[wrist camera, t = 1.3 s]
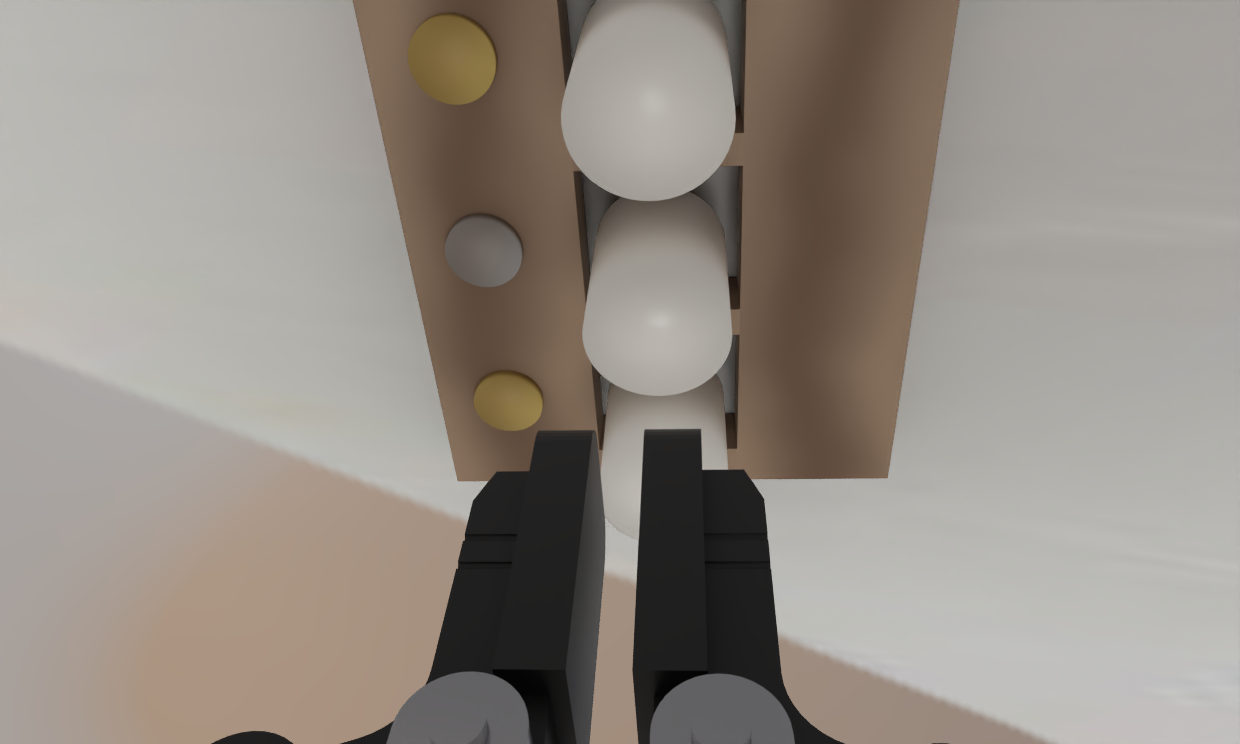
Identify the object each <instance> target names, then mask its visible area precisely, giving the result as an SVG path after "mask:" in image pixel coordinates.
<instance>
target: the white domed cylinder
mask: <svg viewBox="0 0 1240 744" xmlns="http://www.w3.org/2000/svg"><path fill="white" fill-rule="evenodd" d="M735 122H736V114H735V102H734V94H733V86H732V78H731V69H730V61H729V53H728V45H727V37H726V32H725V27H724V24H723V21H722V18H721V16H720V14H719V12H718V10H717V8H716V7H715V5H714V4H713V2H712V1H711V0H596V1H595V3H594V4H593V5H592V7H591V8H590V10H589V12H588V14H587V16H586V18H585V21H584V23H583V26H582V30H581V34H580V38H579V41H578V45H577V49H576V53H575V56H574V60H573V64H572V67H571V71H570V75H569V79H568V82H567V86H566V90H565V94H564V98H563V102H562V109H561V126H562V132H563V137H564V140H565V143H566V146H567V149H568V151H569V153H570V155H571V157H572V159H573V160H574V162H575V163H576V165H577V166H578V167H579V169H580V170H581V171H582V172H583V173H584V174H585V175H586V176H587V177H588V178H589V179H590V180H591V181H592V182H594V183H595V184H596V185H598V186H599V187H601V188H603V189H604V190H606V191H608V192H610V193H612V194H615V195H617V196H620V197H623V198H627V199H632V200H638V201H659V200H665V199H670V198H674V197H677V196H680V195H683V194H685V193H687V192H689V191H691V190H693V189H695V188H696V187H698V186H699V185H701V184H702V183H703V182H705V181H706V180H707V179H708V178H709V177H710V176H711V175H712V174H713V173H714V172H715V171H716V170H717V169H718V167H719V166H720V165H721V163H722V162H723V160H724V158H725V157H726V155H727V153H728V151H729V148H730V146H731V143H732V140H733V136H734V131H735Z"/></svg>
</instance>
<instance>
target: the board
mask: <svg viewBox="0 0 1240 744" xmlns="http://www.w3.org/2000/svg"><path fill="white" fill-rule="evenodd" d="M959 1H960V0H742V41H741V95H740V107H735V114H736V122H735V131H734V136H733V140H732V143H731V146H730V148H729V151H728V153H727V155H726V157H725V158H724V160H723V162H722V163H721V165H720V166H739V204H738V258H737V277H728V284H729V297H730V310H731V323H732V335H736V367H735V414H725V425H726V442H727V459H728V470H733V469H744V470H745V472H746V473H747V474H748V476H749V477H750V479H841V478H888V472H889V465H890V459H891V452H892V445H893V439H894V432H895V425H896V419H897V412H898V406H899V399H900V392H901V386H902V379H903V372H904V366H905V359H906V352H907V346H908V339H909V332H910V326H911V319H912V313H913V306H914V299H915V293H916V286H917V279H918V273H919V266H920V259H921V253H922V246H923V240H924V233H925V226H926V220H927V213H928V206H929V200H930V193H931V186H932V180H933V173H934V167H935V160H936V153H937V147H938V140H939V133H940V127H941V120H942V113H943V107H944V100H945V93H946V87H947V80H948V74H949V67H950V60H951V54H952V47H953V40H954V34H955V27H956V20H957V14H958V7H959ZM353 4H354V8H355V13H356V18H357V22H358V27H359V31H360V36H361V41H362V45H363V50H364V54H365V59H366V63H367V68H368V73H369V77H370V82H371V86H372V91H373V95H374V100H375V105H376V109H377V114H378V118H379V123H380V127H381V132H382V137H383V141H384V146H385V150H386V155H387V159H388V164H389V169H390V173H391V178H392V182H393V187H394V191H395V196H396V201H397V205H398V210H399V214H400V219H401V223H402V228H403V233H404V237H405V242H406V246H407V251H408V255H409V260H410V265H411V269H412V274H413V278H414V283H415V287H416V292H417V297H418V301H419V306H420V310H421V315H422V319H423V324H424V329H425V333H426V338H427V342H428V347H429V352H430V356H431V361H432V365H433V370H434V374H435V379H436V384H437V388H438V393H439V397H440V402H441V406H442V411H443V416H444V420H445V425H446V429H447V434H448V438H449V443H450V448H451V452H452V457H453V461H454V466H455V470H456V475H457V480H458V481H489V480H490V479H491V478H492V477H493V475H494V474H495V473H496V472H497V471H529V469H530V464H531V459H532V453H533V448H534V443H535V438H536V434H537V432H538V431H545V430H595V431H596V435H597V442H598V452H599V463H600V472H601V462H602V452H603V442H604V432H605V422H606V415H603V409H602V398H601V387H600V376H599V372H598V371H597V370H596V369H595V367H594V366H593V365H592V363H591V362H590V360H589V358H588V356H587V354H586V351H585V348H584V344H583V338H582V329H583V322H584V315H585V309H586V302H587V295H588V288H589V281H590V275H591V274H590V263H589V252H588V240H587V229H586V218H585V207H584V195H583V184H582V173H581V170H580V169H579V167H578V166H577V165H576V163H575V162H574V160H573V159H572V157H571V155H570V153H569V151H568V149H567V146H566V143H565V140H564V137H563V132H562V126H561V109H562V102H563V98H564V94H565V90H566V86H567V82H568V79H569V75H570V71H571V67H572V60H571V49H570V38H569V26H568V15H567V4H566V0H353Z"/></svg>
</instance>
